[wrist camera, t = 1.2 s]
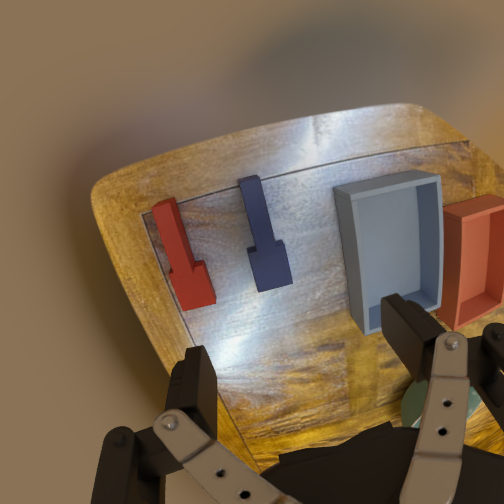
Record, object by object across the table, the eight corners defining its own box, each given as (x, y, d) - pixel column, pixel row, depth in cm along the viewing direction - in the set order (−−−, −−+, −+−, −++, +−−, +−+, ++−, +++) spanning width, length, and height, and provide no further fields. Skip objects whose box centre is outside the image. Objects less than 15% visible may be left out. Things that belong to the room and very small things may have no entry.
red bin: (438, 207, 30) (461, 217, 26) (490, 193, 30) (513, 201, 26) (436, 314, 36) (453, 331, 32) (484, 292, 36) (502, 305, 31)
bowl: (458, 389, 43) (479, 416, 35) (388, 428, 44) (404, 461, 36) (464, 332, 38) (493, 361, 30) (381, 379, 39) (404, 418, 31)
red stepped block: (148, 205, 28) (141, 210, 26) (183, 194, 28) (179, 199, 26) (184, 304, 32) (181, 317, 29) (216, 297, 32) (215, 309, 29)
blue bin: (332, 187, 29) (350, 194, 25) (415, 169, 29) (440, 174, 25) (350, 315, 34) (364, 336, 30) (421, 290, 34) (440, 307, 30)
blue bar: (228, 181, 28) (228, 185, 25) (266, 172, 28) (269, 174, 25) (257, 286, 32) (259, 298, 29) (290, 278, 32) (295, 289, 29)
